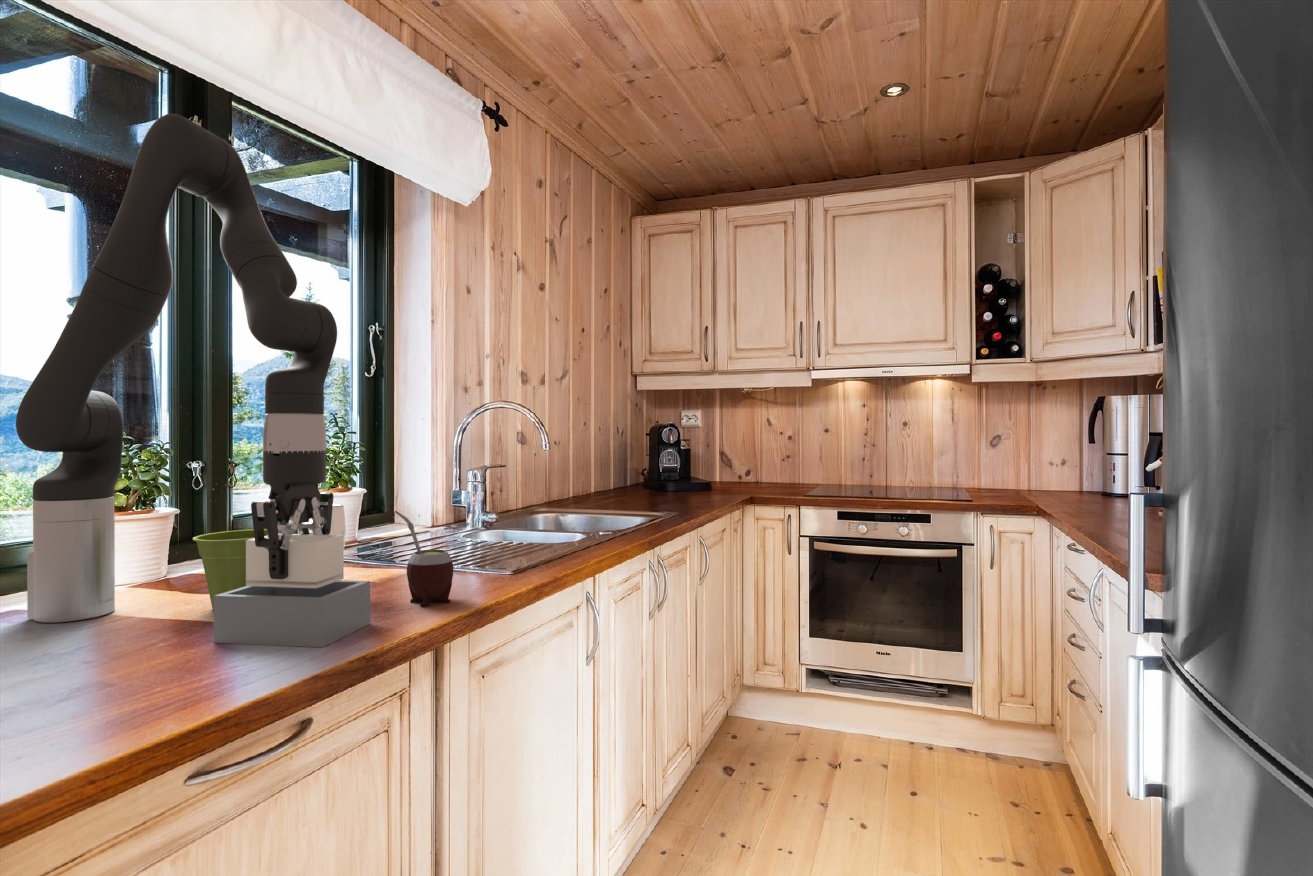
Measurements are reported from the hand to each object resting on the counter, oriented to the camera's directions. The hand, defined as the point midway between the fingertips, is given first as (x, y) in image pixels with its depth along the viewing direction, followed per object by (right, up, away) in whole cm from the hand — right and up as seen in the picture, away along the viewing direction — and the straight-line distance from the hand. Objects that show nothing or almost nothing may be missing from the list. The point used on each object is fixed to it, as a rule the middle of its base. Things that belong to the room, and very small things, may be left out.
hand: (295, 573), depth 94 cm
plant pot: (-16, -8, +14) cm, 23 cm away
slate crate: (0, -8, 0) cm, 8 cm away
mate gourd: (+12, -8, +17) cm, 22 cm away
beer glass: (-5, -8, +19) cm, 21 cm away
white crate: (0, -1, 0) cm, 1 cm away
